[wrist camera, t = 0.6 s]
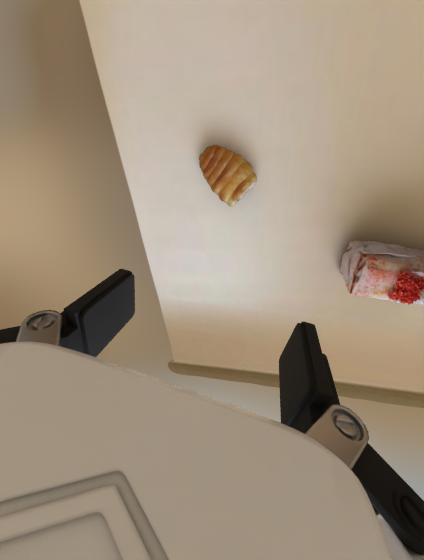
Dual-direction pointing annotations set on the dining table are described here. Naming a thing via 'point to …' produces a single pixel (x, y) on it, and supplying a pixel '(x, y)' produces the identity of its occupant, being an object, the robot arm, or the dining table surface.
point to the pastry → (227, 173)
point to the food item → (384, 271)
